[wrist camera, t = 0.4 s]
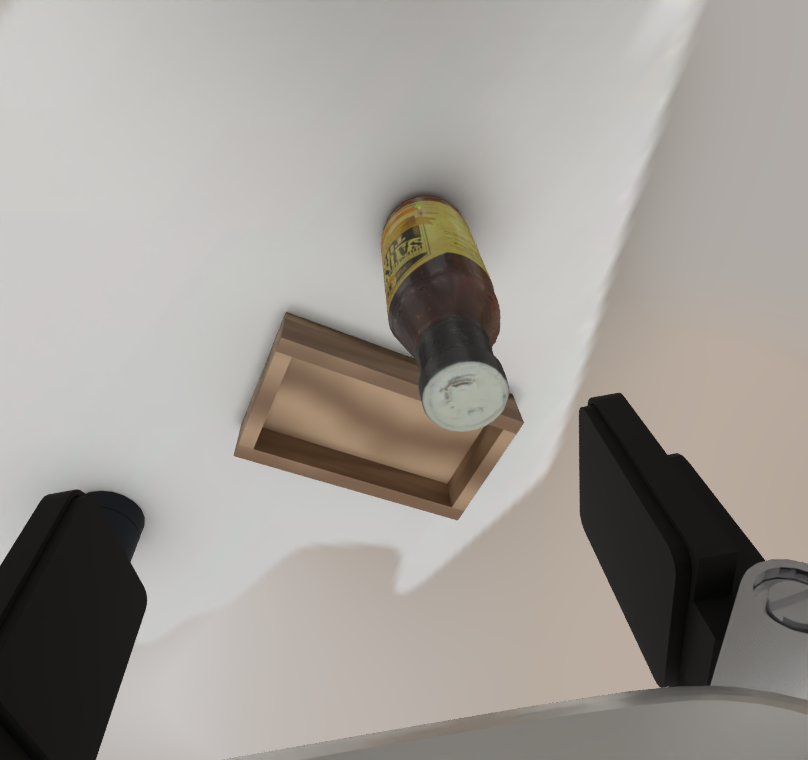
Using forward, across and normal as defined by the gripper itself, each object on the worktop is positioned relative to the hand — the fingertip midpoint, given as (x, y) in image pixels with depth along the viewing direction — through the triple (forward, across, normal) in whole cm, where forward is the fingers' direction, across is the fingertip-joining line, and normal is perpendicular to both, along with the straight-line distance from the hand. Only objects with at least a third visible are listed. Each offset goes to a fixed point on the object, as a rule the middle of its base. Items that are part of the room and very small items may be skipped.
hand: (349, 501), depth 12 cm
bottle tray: (+34, +1, +20) cm, 40 cm away
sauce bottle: (+34, -4, +6) cm, 35 cm away
